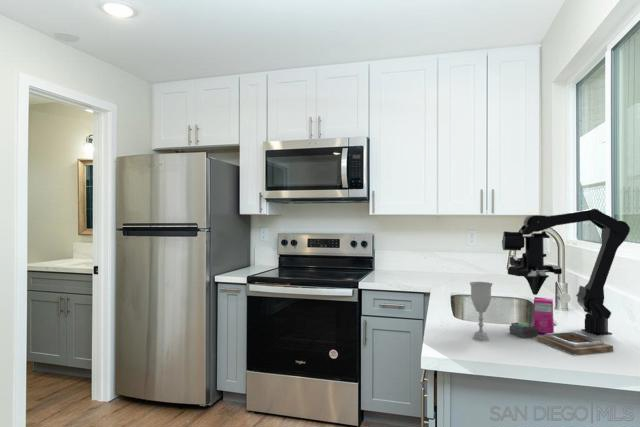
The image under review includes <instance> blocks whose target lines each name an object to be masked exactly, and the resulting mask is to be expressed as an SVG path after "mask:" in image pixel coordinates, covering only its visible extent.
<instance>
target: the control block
mask: <svg viewBox="0 0 640 427" xmlns="http://www.w3.org/2000/svg"><path fill="white" fill-rule="evenodd" d="M522 322H523V323H528V322H525V321H522ZM518 323H520V322H518V321H517V322H511V324H510V325H509V334H511V335H513V336H516V337H518V338H521V339H529V338H530V339H531V338H537V336H539V334H538V329H536V326H534V324H531V323H528V324H529V326H520V325H518Z"/></svg>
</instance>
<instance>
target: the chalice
mask: <svg viewBox="0 0 640 427" xmlns="http://www.w3.org/2000/svg"><path fill="white" fill-rule="evenodd" d="M469 284H470V299H471V302H472V305H473V307H474V309H475V311H476V312H478V313H479V314H478V315H479V316H478V318H477V319H478V321H479V322H478V323H477V325H478V327H479V328H478V329H479V330H477V331H475V332H474V334H473V338H472V339H473V340H475V341H478V342H488V341H490V339H489V336H488V334H487V332H485V331H484V330H483V326H484V322H483V320H484V317H483V314H484V313H485V312H486V311H487V309H488V307H489V306H490V303H491V301H492V286H493V283H492V282H487V281H471V282H469Z"/></svg>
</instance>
